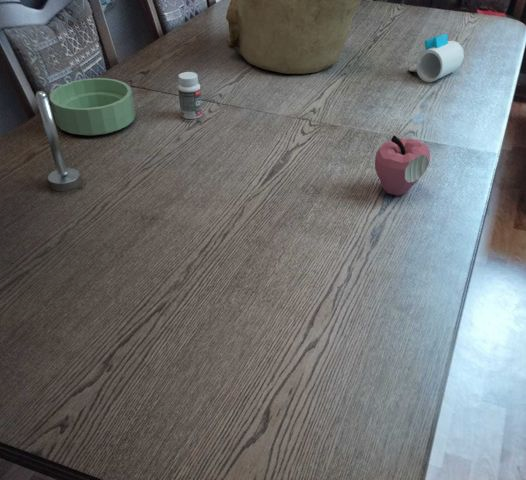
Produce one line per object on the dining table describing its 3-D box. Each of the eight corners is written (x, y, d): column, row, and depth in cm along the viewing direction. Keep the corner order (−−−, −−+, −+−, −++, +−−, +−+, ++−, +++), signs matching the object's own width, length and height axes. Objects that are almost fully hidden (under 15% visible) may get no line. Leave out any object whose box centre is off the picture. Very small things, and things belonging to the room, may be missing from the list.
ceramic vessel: (265, 26, 165) (265, -78, 147) (385, 59, 146) (403, -56, 128) (195, 51, 150) (186, -62, 132) (320, 92, 131) (329, -34, 112)
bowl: (41, 124, 118) (33, 95, 114) (101, 99, 127) (95, 72, 123) (92, 146, 111) (85, 116, 107) (151, 118, 120) (147, 90, 116)
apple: (387, 208, 95) (397, 153, 88) (360, 185, 101) (368, 131, 93) (432, 196, 98) (445, 141, 91) (403, 174, 103) (414, 121, 96)
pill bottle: (201, 119, 120) (198, 79, 114) (179, 119, 120) (175, 79, 114) (203, 110, 123) (200, 71, 117) (182, 110, 123) (178, 71, 117)
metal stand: (43, 184, 100) (14, 92, 89) (68, 172, 103) (43, 82, 92) (63, 194, 98) (36, 101, 86) (88, 182, 101) (65, 90, 89)
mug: (466, 26, 133) (439, 37, 127) (470, 66, 138) (444, 79, 132) (423, 37, 142) (397, 48, 136) (428, 75, 146) (403, 87, 140)
